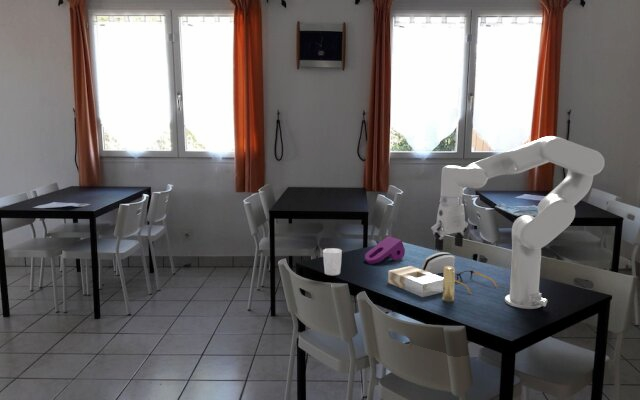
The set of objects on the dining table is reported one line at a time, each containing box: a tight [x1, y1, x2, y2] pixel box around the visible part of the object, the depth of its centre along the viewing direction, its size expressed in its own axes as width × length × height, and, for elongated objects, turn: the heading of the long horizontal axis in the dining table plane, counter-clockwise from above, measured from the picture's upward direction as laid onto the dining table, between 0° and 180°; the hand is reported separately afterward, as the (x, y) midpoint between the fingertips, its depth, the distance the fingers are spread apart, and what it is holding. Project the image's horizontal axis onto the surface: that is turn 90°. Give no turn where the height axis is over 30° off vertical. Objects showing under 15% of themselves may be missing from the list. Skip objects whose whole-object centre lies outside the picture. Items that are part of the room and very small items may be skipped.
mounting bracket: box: [364, 235, 406, 265], centre depth 242 cm, size 10×8×18 cm
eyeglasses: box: [455, 270, 499, 295], centre depth 205 cm, size 14×14×4 cm
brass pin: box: [442, 266, 456, 303], centre depth 189 cm, size 4×4×12 cm
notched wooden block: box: [387, 265, 427, 291], centre depth 208 cm, size 10×12×5 cm
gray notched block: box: [405, 272, 443, 298], centre depth 200 cm, size 10×12×5 cm
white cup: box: [322, 247, 343, 276], centre depth 222 cm, size 8×8×10 cm
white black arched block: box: [420, 251, 456, 275], centre depth 221 cm, size 17×5×10 cm, turn 122°
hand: (448, 247), depth 187 cm, fingers open, 9 cm apart
